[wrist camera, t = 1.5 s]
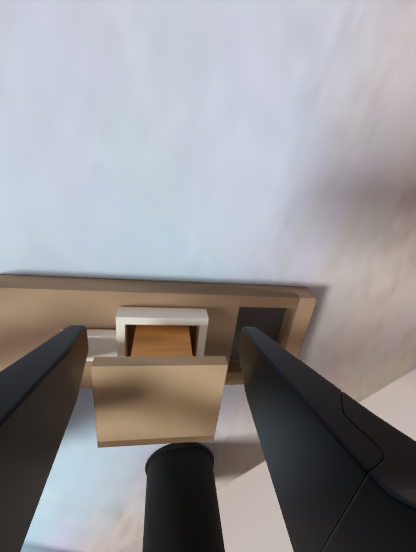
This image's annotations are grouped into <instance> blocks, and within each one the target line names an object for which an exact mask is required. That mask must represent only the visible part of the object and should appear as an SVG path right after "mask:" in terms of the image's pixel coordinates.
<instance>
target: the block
mask: <svg viewBox="0 0 416 552" xmlns="http://www.w3.org/2000/svg"><path fill="white" fill-rule="evenodd" d="M141 356H192V348H191V340H190V331H189V325H136V329H135V335H134V341H133V346H132V352H131V357H141Z"/></svg>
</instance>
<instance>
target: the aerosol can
mask: <svg viewBox="0 0 416 552" xmlns="http://www.w3.org/2000/svg"><path fill="white" fill-rule="evenodd" d="M213 465H214V457H213V455H212V453H211V452H210V450H209V449H207V448H206V447H204V446H202V445H200V444H196V443H190V442H183V443H174V444H171V445H167V446H165V447H163V448H161V449H159V450H157V451H156V452H155V453H153V454H152V455H151V456H150V458H149V459H148V460H147V463H146V466H145V471H146V475H147V486H146V502H145V519H144V536H143V552H225V549H224V542H223V535H222V528H221V521H220V514H219V507H218V500H217V493H216V486H215V479H214V472H213Z"/></svg>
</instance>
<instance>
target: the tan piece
mask: <svg viewBox="0 0 416 552" xmlns="http://www.w3.org/2000/svg"><path fill="white" fill-rule="evenodd" d="M316 300H317V298H316V297H315V296H314V295H313V294H312V293H311V292H310V291H309V290H308V289H307V288H306V287H287V286H263V285H239V284H215V283H191V282H167V281H143V280H119V279H95V278H70V277H46V276H22V275H0V371H2V370H3V369H5V368H6V367H8V366H9V365H11V364H12V363H14V362H15V361H17V360H18V359H20V358H21V357H23V356H24V355H26V354H27V353H29V352H30V351H32V350H33V349H35V348H36V347H38V346H39V345H41V344H42V343H44V342H45V341H47V340H48V339H50V338H51V337H53V336H54V335H56V334H58V333H59V332H60V330H61V329H65V328H67V327H68V326H70V325H85V326H86V328H87V329H101V330H116V315H117V311H118V308H119V307H156V308H195V309H206V310H207V314H208V318H209V320H208V328H207V335H206V342H205V350H204V356H193V353H194V344H195V336H196V327H197V325H189V331H190V340H191V348H192V356H141V357H131V352H132V346H133V341H134V335H135V329H136V325H130V324H127V332H128V357H94V359H93V361H86V363H85V367H84V371H83V376H82V380H81V384H80V388H93V395H94V407H95V419H96V431H97V442H98V448H99V447H116V446H133V445H150V444H167V443H183V442H200V441H214V436H215V431H216V425H217V420H218V415H219V409H220V404H221V399H222V393H223V388H224V385H234V384H244V381H243V376H242V370H241V365H240V359H239V354H238V347H239V342H240V337H241V332H242V329H243V328H244V327H256V328H257V329H258V330H260V331H261V332H263V333H264V334H265V335H267V336H268V337H269V338H271V339H272V340H273V341H275V342H276V343H277V344H279V345H280V346H282V347H283V348H284V349H286V350H287V351H288V352H290V353H291V354H292V355H294V356H295V357H296V358H298V356H299V353H300V350H301V347H302V344H303V341H304V337H305V334H306V331H307V328H308V325H309V322H310V319H311V316H312V313H313V310H314V307H315V304H316Z"/></svg>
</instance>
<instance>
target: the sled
mask: <svg viewBox="0 0 416 552" xmlns="http://www.w3.org/2000/svg"><path fill="white" fill-rule="evenodd" d="M208 320H209V318H208V314H207V310H206V309H195V308H156V307H119V308H118V311H117V315H116V330H101V329H87V337H88V355H87V359H86V361H93V359H94V357H128V332H127V324H130V325H197V327H196V336H195V344H194V353H193V356H204V350H205V342H206V335H207V328H208ZM62 330H64V329H61V330H60V332H61V331H62Z"/></svg>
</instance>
